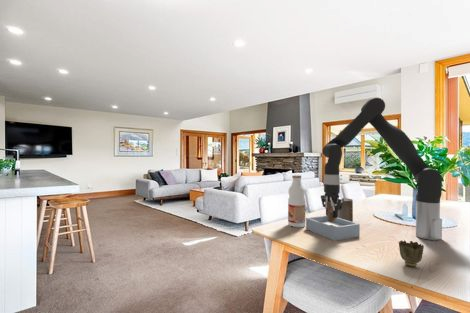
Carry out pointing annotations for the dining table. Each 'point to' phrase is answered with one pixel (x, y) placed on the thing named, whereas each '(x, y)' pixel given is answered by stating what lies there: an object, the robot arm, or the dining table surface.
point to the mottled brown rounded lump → (411, 252)
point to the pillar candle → (346, 210)
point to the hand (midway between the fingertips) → (331, 216)
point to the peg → (330, 213)
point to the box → (333, 228)
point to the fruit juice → (296, 203)
